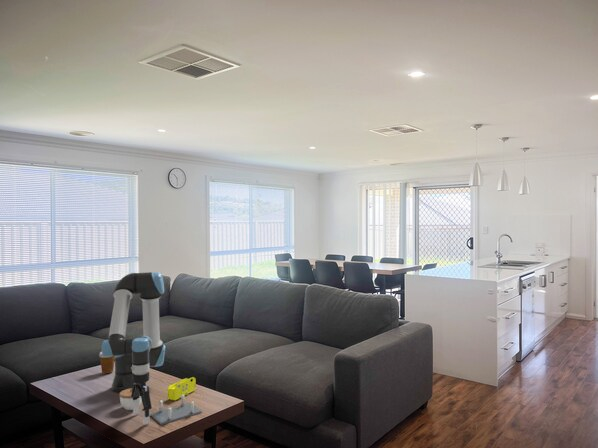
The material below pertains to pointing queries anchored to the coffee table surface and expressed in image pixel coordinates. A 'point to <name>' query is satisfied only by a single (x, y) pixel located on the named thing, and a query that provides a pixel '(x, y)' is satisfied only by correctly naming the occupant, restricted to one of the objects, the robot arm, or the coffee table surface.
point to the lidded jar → (127, 399)
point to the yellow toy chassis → (181, 388)
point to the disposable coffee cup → (106, 363)
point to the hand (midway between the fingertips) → (141, 418)
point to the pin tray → (175, 412)
